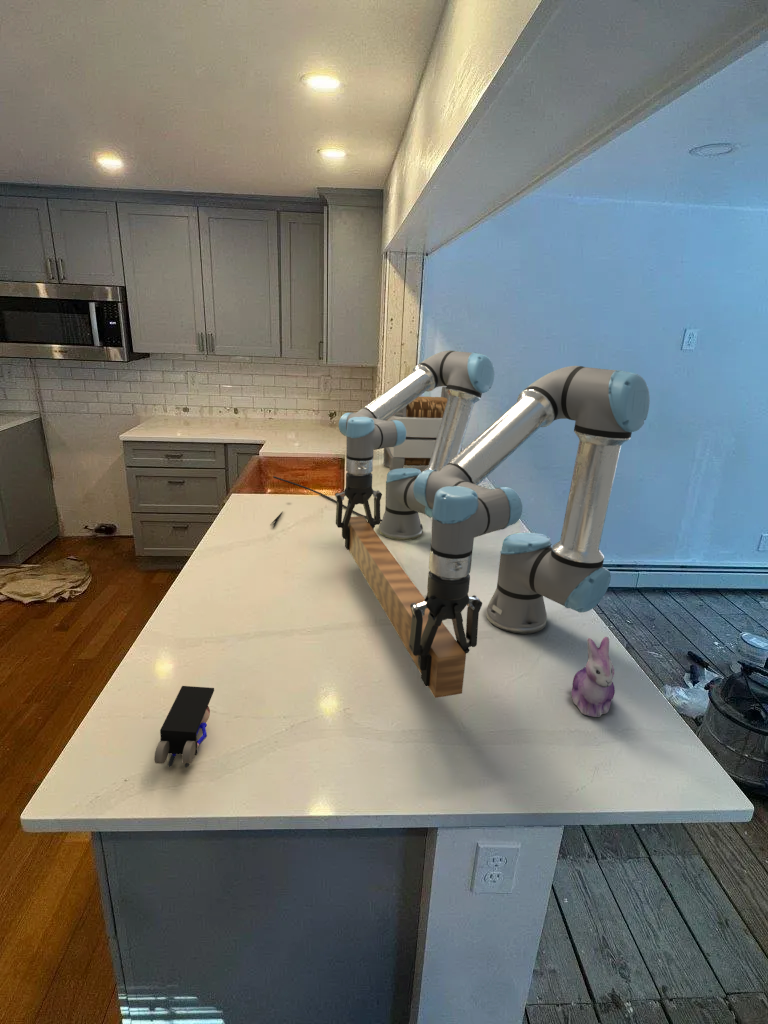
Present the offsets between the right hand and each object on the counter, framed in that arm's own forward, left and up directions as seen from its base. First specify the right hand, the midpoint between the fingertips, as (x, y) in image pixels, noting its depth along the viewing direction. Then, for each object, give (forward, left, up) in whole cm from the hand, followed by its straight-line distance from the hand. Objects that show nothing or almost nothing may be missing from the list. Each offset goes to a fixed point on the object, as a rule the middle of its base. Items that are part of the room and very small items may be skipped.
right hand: (440, 679), depth 110 cm
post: (-22, -24, -1) cm, 33 cm away
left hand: (-44, -49, 0) cm, 66 cm away
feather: (-65, -97, -7) cm, 117 cm away
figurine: (-20, +26, -7) cm, 33 cm away
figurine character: (+34, -33, -7) cm, 47 cm away
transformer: (-151, -84, -7) cm, 173 cm away
